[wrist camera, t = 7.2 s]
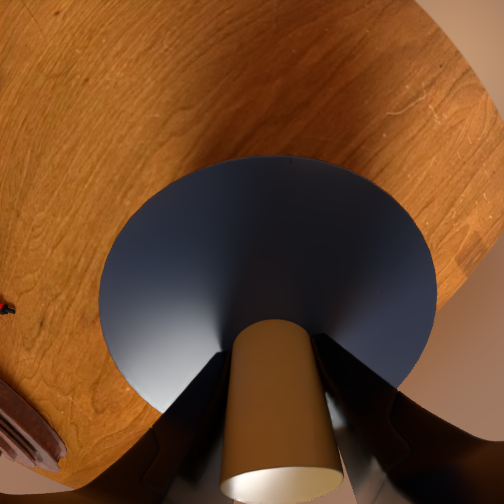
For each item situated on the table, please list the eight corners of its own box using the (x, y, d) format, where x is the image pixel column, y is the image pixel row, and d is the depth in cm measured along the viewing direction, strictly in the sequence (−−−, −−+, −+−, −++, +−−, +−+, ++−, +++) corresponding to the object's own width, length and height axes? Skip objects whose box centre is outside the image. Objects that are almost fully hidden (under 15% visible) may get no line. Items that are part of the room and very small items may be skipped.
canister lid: (413, 130, 7) (573, 140, 2) (407, 391, 11) (450, 486, 5) (68, 210, 8) (-66, 283, 3) (179, 431, 12) (158, 529, 6)
